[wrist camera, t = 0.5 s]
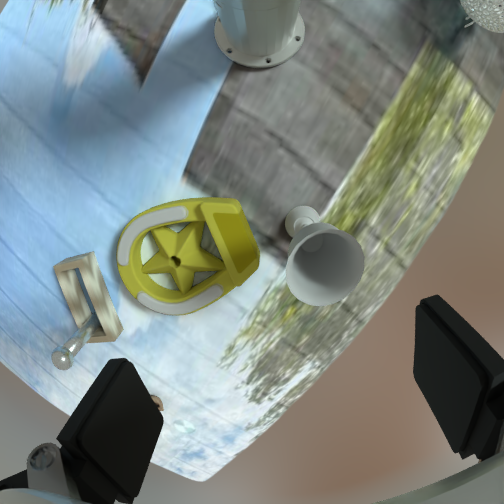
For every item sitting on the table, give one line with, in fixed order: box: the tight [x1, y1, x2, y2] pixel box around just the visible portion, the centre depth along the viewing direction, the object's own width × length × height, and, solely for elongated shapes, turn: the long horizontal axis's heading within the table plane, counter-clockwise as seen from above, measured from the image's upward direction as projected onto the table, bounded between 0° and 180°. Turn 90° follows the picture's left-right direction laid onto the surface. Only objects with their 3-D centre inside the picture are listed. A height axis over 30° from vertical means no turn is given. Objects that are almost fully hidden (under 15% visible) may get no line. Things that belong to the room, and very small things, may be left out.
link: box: [53, 251, 124, 343], centre depth 46 cm, size 15×7×4 cm, turn 12°
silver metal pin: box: [51, 311, 101, 370], centre depth 42 cm, size 4×4×16 cm
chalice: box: [285, 206, 364, 306], centre depth 34 cm, size 7×7×18 cm
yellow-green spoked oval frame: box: [116, 197, 260, 315], centre depth 43 cm, size 16×21×5 cm
